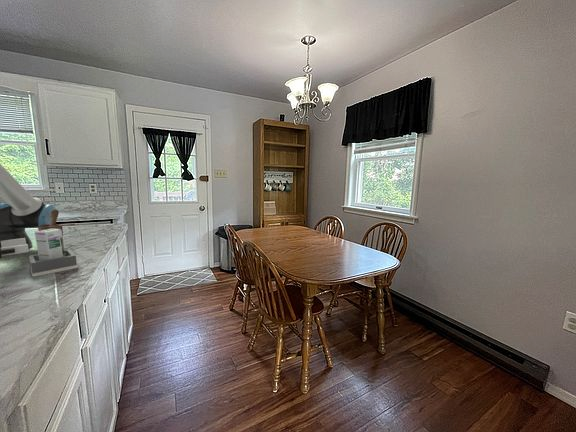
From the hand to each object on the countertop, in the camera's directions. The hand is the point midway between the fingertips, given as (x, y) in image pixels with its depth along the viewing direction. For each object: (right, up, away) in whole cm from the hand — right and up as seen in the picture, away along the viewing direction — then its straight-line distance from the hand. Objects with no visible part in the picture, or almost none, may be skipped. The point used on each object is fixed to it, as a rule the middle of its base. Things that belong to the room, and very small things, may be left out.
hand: (27, 244), depth 97 cm
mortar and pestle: (-17, -7, +29) cm, 35 cm away
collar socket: (+4, -10, +7) cm, 13 cm away
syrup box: (+4, -9, +6) cm, 12 cm away
